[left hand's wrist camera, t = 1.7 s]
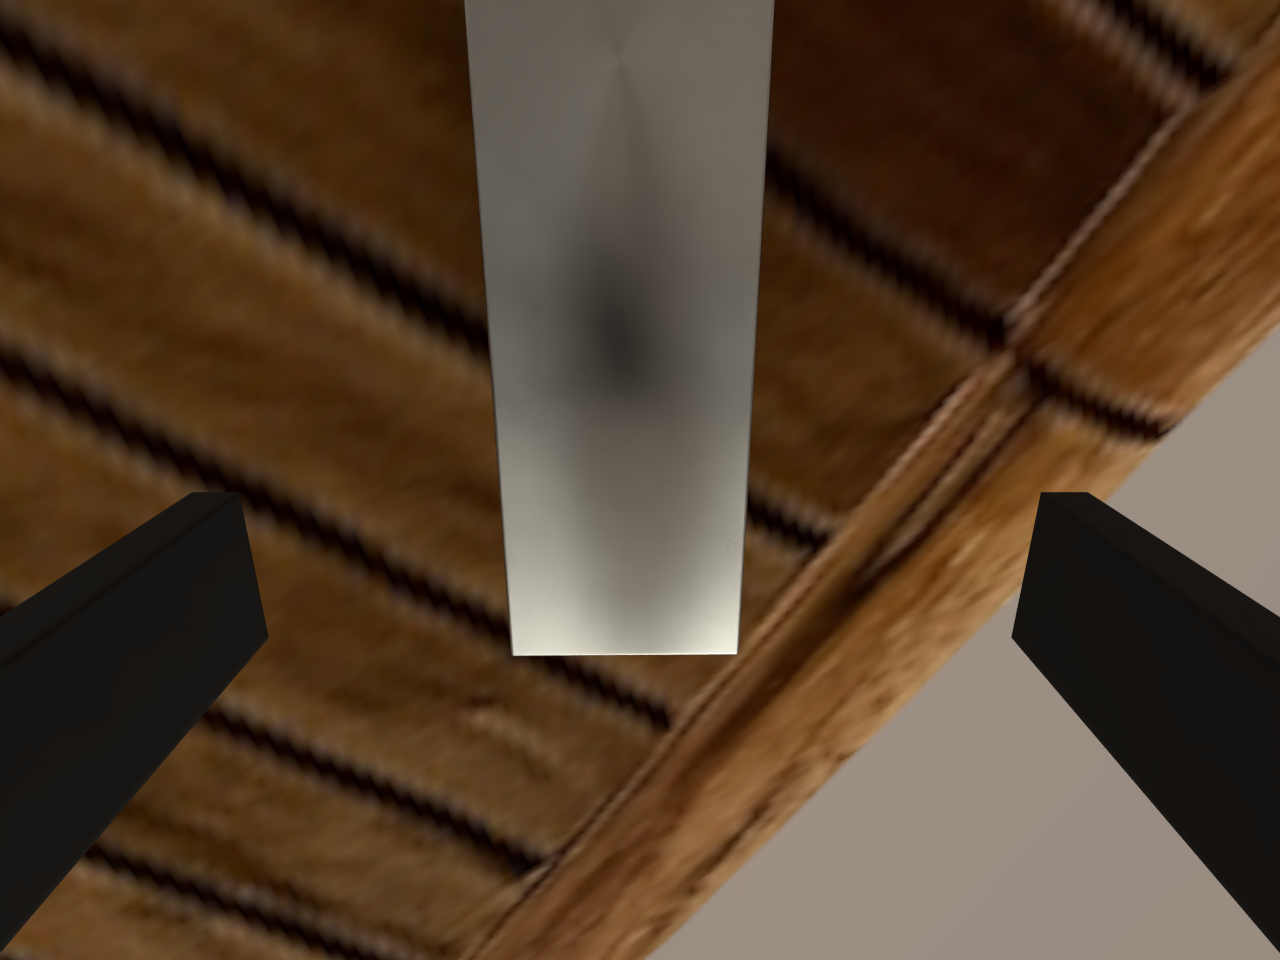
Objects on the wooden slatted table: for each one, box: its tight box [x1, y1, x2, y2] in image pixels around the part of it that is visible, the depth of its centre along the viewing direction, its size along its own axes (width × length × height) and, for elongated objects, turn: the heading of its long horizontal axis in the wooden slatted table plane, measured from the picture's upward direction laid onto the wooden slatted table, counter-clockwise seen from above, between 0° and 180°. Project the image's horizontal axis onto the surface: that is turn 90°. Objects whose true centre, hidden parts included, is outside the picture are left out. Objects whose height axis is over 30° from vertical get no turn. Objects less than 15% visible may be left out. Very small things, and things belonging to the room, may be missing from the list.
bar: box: [464, 0, 775, 656], centre depth 16 cm, size 22×5×9 cm, turn 0°
